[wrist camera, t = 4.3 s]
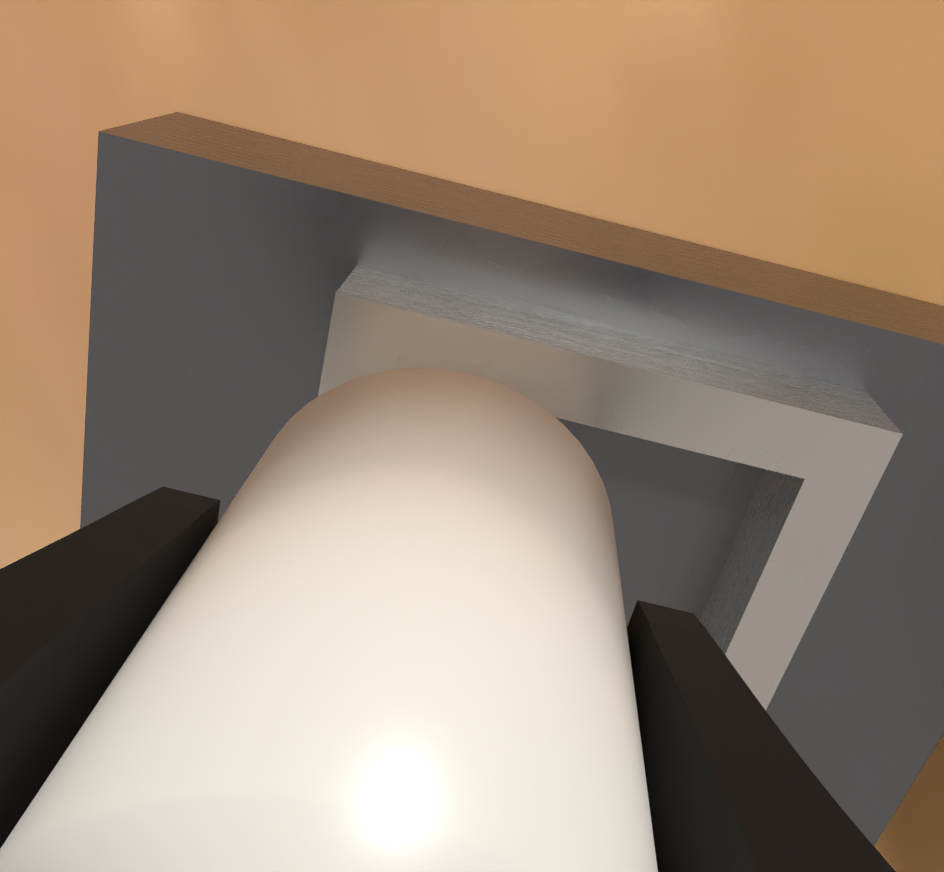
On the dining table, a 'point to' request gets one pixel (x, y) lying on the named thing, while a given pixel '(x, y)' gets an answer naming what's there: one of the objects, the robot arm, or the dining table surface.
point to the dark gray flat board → (557, 400)
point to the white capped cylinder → (375, 663)
